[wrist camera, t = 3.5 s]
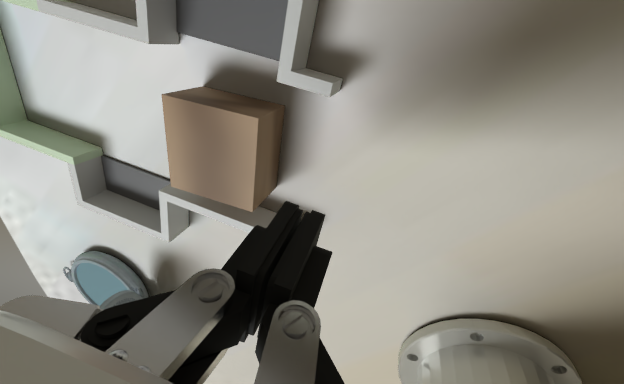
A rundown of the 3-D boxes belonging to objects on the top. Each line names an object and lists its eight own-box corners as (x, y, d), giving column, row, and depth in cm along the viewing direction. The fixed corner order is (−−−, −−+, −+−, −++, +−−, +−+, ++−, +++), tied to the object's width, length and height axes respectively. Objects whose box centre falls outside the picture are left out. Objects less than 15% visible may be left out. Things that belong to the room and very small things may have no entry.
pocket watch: (96, 432, 25) (-20, 377, 29) (180, 328, 34) (85, 296, 38) (52, 364, 20) (-79, 308, 24) (163, 264, 30) (57, 235, 33)
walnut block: (286, 105, 18) (258, 118, 15) (277, 185, 21) (252, 212, 18) (204, 86, 20) (161, 94, 16) (207, 165, 22) (170, 186, 19)
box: (365, -8, 14) (353, -23, 11) (293, 268, 24) (277, 299, 21) (-48, -104, 19) (-135, -133, 16) (35, 165, 29) (-9, 179, 26)
